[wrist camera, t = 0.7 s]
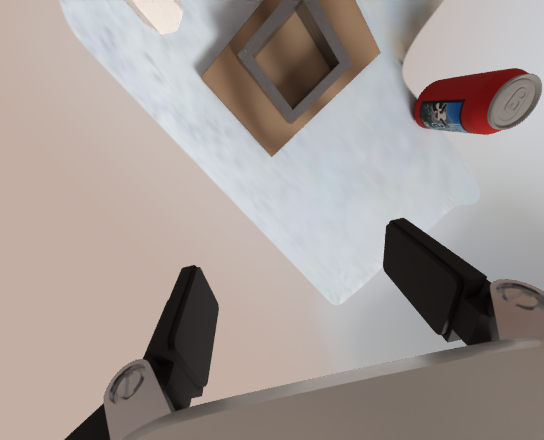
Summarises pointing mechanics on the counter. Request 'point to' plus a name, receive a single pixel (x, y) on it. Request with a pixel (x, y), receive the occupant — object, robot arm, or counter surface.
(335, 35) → the metal socket
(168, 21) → the salt shaker
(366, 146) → the counter surface
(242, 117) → the walnut board
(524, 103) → the beverage can
